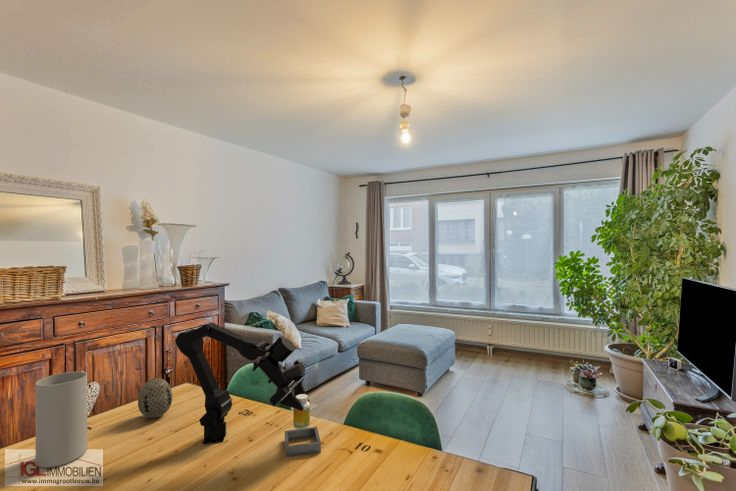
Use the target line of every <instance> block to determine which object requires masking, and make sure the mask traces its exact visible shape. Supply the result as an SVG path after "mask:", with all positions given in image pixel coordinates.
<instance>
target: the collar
mask: <svg viewBox="0 0 736 491" xmlns="http://www.w3.org/2000/svg"><path fill="white" fill-rule="evenodd" d="M310 438H314V441H313V442H308V443H300V444H294V445H293V444H292V445H290V444H289V442H290V441H296V440H304V439H310ZM284 450H285V458H286V459H287V458H293V457H300V456H306V455H312V454H318V453H319V454H320V453H322V442H321V439H320V434H319V430H318V427H317V426H312V427H307V428H305V429H296V428H295V429H290V430H284Z"/></svg>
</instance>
